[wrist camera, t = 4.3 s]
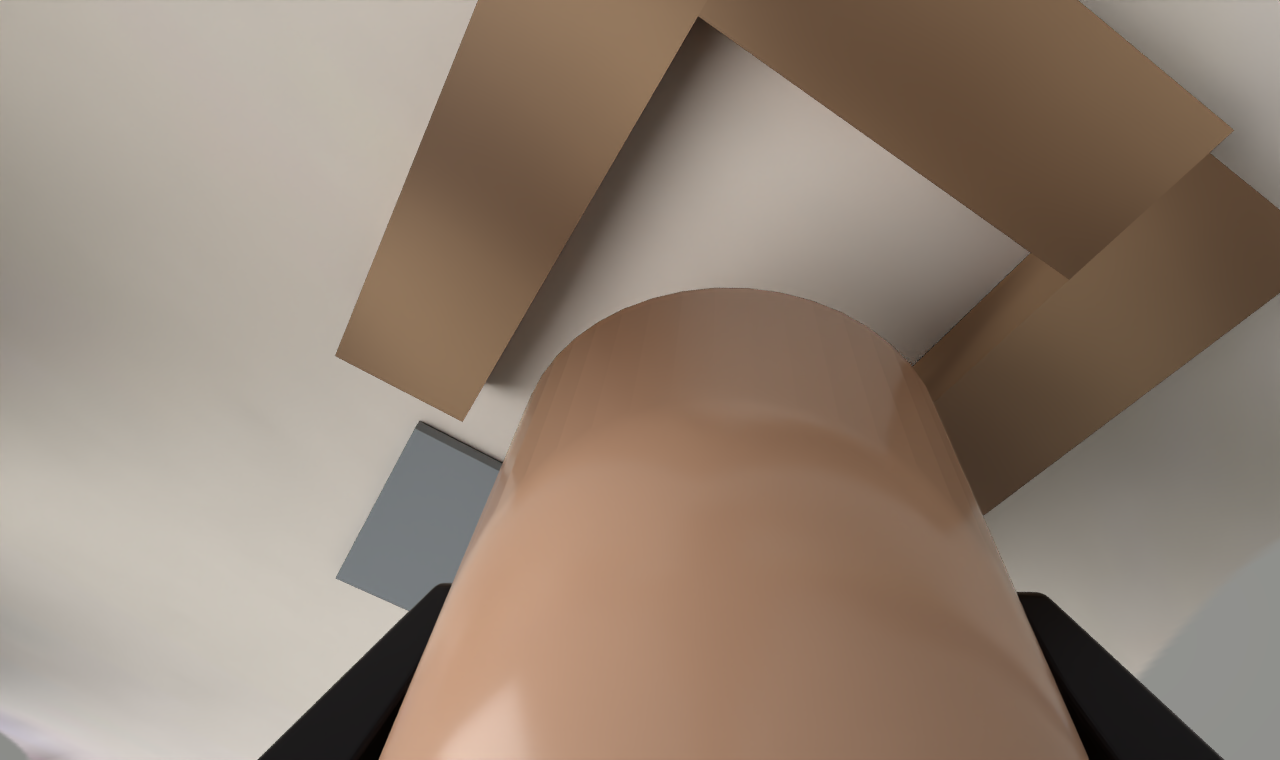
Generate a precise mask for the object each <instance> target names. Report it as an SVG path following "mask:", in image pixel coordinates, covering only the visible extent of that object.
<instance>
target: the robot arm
mask: <svg viewBox="0 0 1280 760" xmlns="http://www.w3.org/2000/svg"><path fill="white" fill-rule="evenodd" d="M451 585H452V583H440V584H438V585H436V586H435V587H433V588H432V589H431V590H430V591H429V592H428V593H427V594H426V595H425V596H424V597H423V598H422V599H421V600H420V601H419V602H418V603H417V604H416V605H415V606H414V607H413V608H412V609H411V610H410V611H409V612H408V613H407V614H406V615H405V616H404V617H403V618H402V619H401V620H400V621H399V622H398V623H396V624H395V625H394V626H393V627H392V628H391V629H390V630H389V631H388V632H387V633H386V634H385V635H384V636H383V637H382V638H381V639H380V640H379V641H378V642H377V643H376V644H375V645H374V646H373V647H372V648H371V649H370V650H369V651H368V652H367V653H366V654H365V655H364V656H363V657H362V658H361V659H360V660H359V661H358V662H357V663H356V664H355V665H354V666H353V667H352V668H351V669H350V670H349V671H348V672H347V673H345V674H344V675H343V676H342V677H341V678H340V679H339V680H338V681H337V682H336V683H335V684H334V685H333V686H332V687H331V688H330V689H329V690H328V691H327V692H326V693H325V694H324V695H323V696H322V697H321V698H320V699H319V700H318V701H317V702H316V703H315V704H314V705H313V706H312V707H311V708H310V709H309V710H308V711H307V712H306V713H305V714H304V715H303V716H302V717H301V718H300V719H299V720H298V721H297V722H295V723H294V724H293V725H292V726H291V727H290V728H289V729H288V730H287V731H286V732H285V733H284V734H283V735H282V736H281V737H280V738H279V739H278V740H277V741H276V742H275V743H274V744H273V745H272V746H271V747H270V748H269V749H268V750H267V751H266V752H265V753H264V754H263V755H262V756H261V757H260V758H259V759H258V760H379V758H380V755H381V753H382V750H383V748H384V746H385V743H386V741H387V738H388V736H389V734H390V731H391V729H392V726H393V724H394V722H395V719H396V717H397V714H398V712H399V710H400V707H401V705H402V703H403V700H404V698H405V695H406V693H407V691H408V688H409V686H410V683H411V681H412V679H413V676H414V674H415V671H416V669H417V667H418V664H419V662H420V660H421V657H422V655H423V652H424V650H425V648H426V645H427V643H428V640H429V638H430V636H431V633H432V631H433V628H434V626H435V624H436V621H437V619H438V616H439V614H440V612H441V609H442V607H443V605H444V602H445V600H446V597H447V595H448V593H449V590H450V588H451ZM1017 595H1018V597H1019V599H1020V602H1021V604H1022V606H1023V608H1024V611H1025V613H1026V615H1027V618H1028V620H1029V622H1030V624H1031V627H1032V629H1033V631H1034V634H1035V636H1036V638H1037V641H1038V643H1039V645H1040V647H1041V650H1042V652H1043V654H1044V657H1045V659H1046V661H1047V663H1048V666H1049V668H1050V670H1051V673H1052V675H1053V677H1054V680H1055V682H1056V684H1057V686H1058V689H1059V691H1060V693H1061V696H1062V698H1063V700H1064V703H1065V705H1066V707H1067V709H1068V712H1069V714H1070V716H1071V719H1072V721H1073V723H1074V725H1075V728H1076V730H1077V732H1078V735H1079V737H1080V739H1081V742H1082V744H1083V746H1084V748H1085V751H1086V753H1087V755H1088V758H1089V760H1224V759H1223V758H1222V757H1221V756H1219V755H1218V754H1217V753H1216V752H1215V751H1214V750H1213V749H1212V748H1211V747H1210V746H1209V745H1208V744H1206V743H1205V742H1204V741H1203V740H1202V739H1201V738H1200V737H1199V736H1198V735H1197V734H1196V733H1195V732H1193V730H1191V729H1190V728H1189V727H1188V726H1187V725H1186V724H1185V723H1184V722H1183V721H1182V720H1181V719H1180V718H1178V717H1177V716H1176V715H1175V714H1174V713H1173V712H1172V711H1171V710H1170V709H1169V708H1168V707H1167V706H1166V705H1164V704H1163V703H1162V702H1161V701H1160V700H1159V699H1158V698H1157V697H1156V696H1155V695H1154V694H1152V693H1151V692H1150V691H1149V690H1148V689H1147V688H1146V687H1145V686H1144V685H1143V684H1142V683H1141V682H1140V681H1139V680H1138V679H1136V678H1135V677H1134V676H1133V675H1132V674H1131V673H1130V672H1129V671H1128V670H1127V669H1126V668H1125V667H1123V666H1122V665H1121V664H1120V663H1119V662H1118V661H1117V660H1116V659H1115V658H1114V657H1113V656H1112V655H1111V654H1109V653H1108V652H1107V651H1106V650H1105V649H1104V648H1103V647H1102V646H1101V645H1100V644H1099V643H1098V642H1097V641H1095V640H1094V639H1093V638H1092V637H1091V636H1090V635H1089V634H1088V633H1087V632H1086V631H1085V630H1084V629H1083V628H1081V627H1080V626H1079V625H1078V624H1077V623H1076V622H1075V621H1074V620H1073V619H1072V618H1071V617H1070V616H1068V615H1067V614H1066V613H1065V612H1064V611H1063V610H1062V609H1061V608H1060V607H1059V606H1058V605H1057V604H1056V603H1054V602H1053V601H1052V600H1051V599H1050V598H1049V597H1047V596H1046V595H1044V594H1042V593H1037V592H1017Z"/></svg>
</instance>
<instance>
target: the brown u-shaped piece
mask: <svg viewBox="0 0 1280 760" xmlns="http://www.w3.org/2000/svg"><path fill="white" fill-rule="evenodd" d="M697 17H700V18H701V19H703V20H704V21H706V22H707V23H708V24H710V25H711V26H713V27H714V28H715V29H717V30H718V31H720V32H721V33H722V34H724V35H725V36H727V37H728V38H729V39H731V40H732V41H734V42H735V43H736V44H738V45H739V46H741V47H742V48H744V49H745V50H746V51H748V52H749V53H751V54H752V55H753V56H755V57H756V58H758V59H759V60H760V61H762V62H763V63H765V64H766V65H767V66H769V67H770V68H772V69H773V70H774V71H776V72H777V73H779V74H780V75H782V76H783V77H784V78H786V79H787V80H789V81H790V82H791V83H793V84H794V85H796V86H797V87H798V88H800V89H801V90H803V91H804V92H805V93H807V94H808V95H810V96H811V97H812V98H814V99H815V100H817V101H818V102H820V103H821V104H822V105H824V106H825V107H827V108H828V109H829V110H831V111H832V112H834V113H835V114H836V115H838V116H839V117H841V118H842V119H843V120H845V121H846V122H848V123H849V124H850V125H852V126H853V127H855V128H856V129H858V130H859V131H860V132H862V133H863V134H865V135H866V136H867V137H869V138H870V139H872V140H873V141H874V142H876V143H877V144H879V145H880V146H881V147H883V148H884V149H886V150H887V151H888V152H890V153H891V154H893V155H894V156H896V157H897V158H898V159H900V160H901V161H903V162H904V163H905V164H907V165H908V166H910V167H911V168H912V169H914V170H915V171H917V172H918V173H919V174H921V175H922V176H924V177H925V178H926V179H928V180H929V181H931V182H932V183H934V184H935V185H936V186H938V187H939V188H941V189H942V190H943V191H945V192H946V193H948V194H949V195H950V196H952V197H953V198H955V199H956V200H957V201H959V202H960V203H962V204H963V205H964V206H966V207H967V208H969V209H970V210H972V211H973V212H974V213H976V214H977V215H979V216H980V217H981V218H983V219H984V220H986V221H987V222H988V223H990V224H991V225H993V226H994V227H995V228H997V229H998V230H1000V231H1001V232H1002V233H1004V234H1005V235H1007V236H1008V237H1010V238H1011V239H1012V240H1014V241H1015V242H1017V243H1018V244H1019V245H1021V246H1022V247H1024V248H1025V249H1026V250H1028V251H1029V252H1031V253H1030V254H1029V255H1028V256H1027V257H1026V258H1025V259H1024V260H1023V261H1022V262H1021V263H1020V264H1019V265H1018V266H1017V267H1016V268H1014V269H1013V270H1012V271H1011V272H1010V273H1009V274H1008V275H1007V276H1006V277H1005V278H1004V279H1003V280H1002V281H1001V282H1000V283H999V284H998V285H997V286H996V287H995V288H994V289H993V290H992V291H991V292H990V293H989V294H988V295H986V296H985V297H984V298H983V299H982V300H981V301H980V302H979V303H978V304H977V305H976V306H975V307H974V308H973V309H972V310H971V311H970V312H969V313H968V314H967V315H966V316H965V317H964V318H963V319H962V320H961V321H960V322H958V323H957V324H956V325H955V326H954V327H953V328H952V329H951V330H950V331H949V332H948V333H947V334H946V335H945V336H944V337H943V338H942V339H941V340H940V341H939V342H938V343H937V344H936V345H935V346H934V347H933V348H932V349H930V350H929V351H928V352H927V353H926V354H925V355H924V356H923V357H922V358H921V359H920V360H919V361H918V362H917V363H916V364H915V365H914V366H913V369H914V370H915V371H916V373H917V374H918V376H919V377H920V379H921V380H922V381H923V383H924V384H925V386H926V388H927V390H928V392H929V394H930V396H931V398H932V400H933V402H934V404H935V406H936V409H937V411H938V413H939V416H940V418H941V420H942V422H943V425H944V427H945V429H946V432H947V434H948V436H949V439H950V441H951V443H952V445H953V448H954V450H955V452H956V455H957V457H958V459H959V461H960V464H961V466H962V468H963V471H964V473H965V475H966V478H967V480H968V482H969V484H970V487H971V489H972V491H973V494H974V496H975V498H976V501H977V503H978V505H979V507H980V510H981V512H982V514H983V516H984V515H985V514H986V513H988V512H989V511H990V510H992V509H993V508H994V507H996V506H997V505H998V504H1000V503H1001V502H1002V501H1004V500H1005V499H1006V498H1008V497H1009V496H1010V495H1012V494H1013V493H1014V492H1016V491H1017V490H1018V489H1020V488H1021V487H1022V486H1024V485H1025V484H1026V483H1028V482H1029V481H1030V480H1032V479H1033V478H1034V477H1035V476H1037V475H1038V474H1039V473H1041V472H1042V471H1043V470H1045V469H1046V468H1047V467H1049V466H1050V465H1051V464H1053V463H1054V462H1055V461H1057V460H1058V459H1059V458H1061V457H1062V456H1063V455H1065V454H1066V453H1067V452H1069V451H1070V450H1071V449H1073V448H1074V447H1075V446H1077V445H1078V444H1079V443H1081V442H1082V441H1083V440H1085V439H1086V438H1087V437H1089V436H1090V435H1091V434H1093V433H1094V432H1095V431H1097V430H1098V429H1099V428H1101V427H1102V426H1103V425H1105V424H1106V423H1107V422H1109V421H1110V420H1111V419H1113V418H1114V417H1115V416H1117V415H1118V414H1119V413H1121V412H1122V411H1123V410H1125V409H1126V408H1127V407H1129V406H1130V405H1131V404H1133V403H1134V402H1135V401H1137V400H1138V399H1139V398H1141V397H1142V396H1143V395H1145V394H1146V393H1147V392H1149V391H1150V390H1151V389H1153V388H1154V387H1155V386H1157V385H1158V384H1159V383H1161V382H1162V381H1163V380H1165V379H1166V378H1167V377H1169V376H1170V375H1171V374H1173V373H1174V372H1175V371H1177V370H1178V369H1179V368H1181V367H1182V366H1183V365H1185V364H1186V363H1187V362H1188V361H1190V360H1191V359H1192V358H1194V357H1195V356H1196V355H1198V354H1199V353H1200V352H1202V351H1203V350H1204V349H1206V348H1207V347H1208V346H1210V345H1211V344H1212V343H1214V342H1215V341H1216V340H1218V339H1219V338H1220V337H1222V336H1223V335H1224V334H1226V333H1227V332H1228V331H1230V330H1231V329H1232V328H1234V327H1235V326H1236V325H1238V324H1239V323H1240V322H1242V321H1243V320H1244V319H1246V318H1247V317H1248V316H1250V315H1251V314H1252V313H1254V312H1255V311H1256V310H1258V309H1259V308H1260V307H1262V306H1263V305H1264V304H1266V303H1267V302H1268V301H1270V300H1271V299H1272V298H1274V297H1275V296H1276V295H1278V294H1279V293H1280V210H1279V209H1278V208H1277V207H1276V206H1274V205H1273V204H1272V203H1271V202H1269V201H1268V200H1267V199H1266V198H1264V197H1263V196H1262V195H1261V194H1260V193H1258V192H1257V191H1256V190H1255V189H1253V188H1252V187H1251V186H1250V185H1248V184H1247V183H1246V182H1245V181H1244V180H1242V179H1241V178H1240V177H1239V176H1237V175H1236V174H1235V173H1234V172H1232V171H1231V170H1230V169H1229V168H1228V167H1226V166H1225V165H1224V164H1223V163H1221V162H1220V161H1219V160H1218V159H1217V158H1215V157H1214V156H1213V155H1212V154H1210V152H1211V151H1212V150H1213V149H1214V148H1215V147H1216V146H1217V145H1219V144H1220V143H1221V142H1222V141H1223V140H1224V139H1225V138H1226V137H1227V136H1229V135H1230V134H1231V133H1232V132H1233V131H1234V130H1233V129H1232V128H1231V127H1230V126H1229V125H1227V124H1226V123H1225V122H1224V121H1223V120H1221V119H1220V118H1219V117H1218V116H1216V115H1215V114H1214V113H1213V112H1212V111H1210V110H1209V109H1208V108H1207V107H1206V106H1204V105H1203V104H1202V103H1201V102H1200V101H1198V100H1197V99H1196V98H1195V97H1194V96H1192V95H1191V94H1190V93H1189V92H1188V91H1186V90H1185V89H1184V88H1183V87H1182V86H1180V85H1179V84H1178V83H1177V82H1176V81H1174V80H1173V79H1172V78H1171V77H1170V76H1168V75H1167V74H1166V73H1165V72H1164V71H1162V70H1161V69H1160V68H1159V67H1158V66H1156V65H1155V64H1154V63H1153V62H1152V61H1150V60H1149V59H1148V58H1147V57H1146V56H1144V55H1143V54H1142V53H1141V52H1140V51H1138V50H1137V49H1136V48H1135V47H1134V46H1132V45H1131V44H1130V43H1129V42H1128V41H1126V40H1125V39H1124V38H1123V37H1122V36H1120V35H1119V34H1118V33H1117V32H1116V31H1114V30H1113V29H1112V28H1111V27H1110V26H1108V25H1107V24H1106V23H1105V22H1104V21H1102V20H1101V19H1100V18H1099V17H1098V16H1096V15H1095V14H1094V13H1093V12H1092V11H1090V10H1089V9H1088V8H1087V7H1086V6H1084V5H1083V4H1082V3H1081V2H1080V1H1078V0H478V2H477V4H476V7H475V9H474V12H473V14H472V17H471V19H470V22H469V24H468V27H467V29H466V32H465V34H464V37H463V39H462V42H461V44H460V47H459V49H458V52H457V54H456V57H455V59H454V61H453V64H452V66H451V69H450V71H449V74H448V76H447V79H446V81H445V84H444V86H443V89H442V91H441V94H440V96H439V99H438V101H437V104H436V106H435V109H434V111H433V114H432V116H431V119H430V121H429V124H428V126H427V129H426V131H425V134H424V136H423V139H422V141H421V144H420V146H419V149H418V151H417V154H416V156H415V158H414V161H413V163H412V166H411V168H410V171H409V173H408V176H407V178H406V181H405V183H404V186H403V188H402V191H401V193H400V196H399V198H398V201H397V203H396V206H395V208H394V211H393V213H392V216H391V218H390V221H389V223H388V226H387V228H386V231H385V233H384V236H383V238H382V241H381V243H380V246H379V248H378V250H377V253H376V255H375V258H374V260H373V263H372V265H371V268H370V270H369V273H368V275H367V278H366V280H365V283H364V285H363V288H362V290H361V293H360V295H359V298H358V300H357V303H356V305H355V308H354V310H353V313H352V315H351V318H350V320H349V323H348V325H347V328H346V330H345V333H344V335H343V338H342V340H341V342H340V345H339V347H338V350H337V352H336V355H335V356H336V357H338V358H340V359H342V360H344V361H346V362H348V363H350V364H352V365H354V366H355V367H357V368H359V369H361V370H363V371H365V372H367V373H369V374H371V375H373V376H375V377H377V378H379V379H381V380H383V381H384V382H386V383H388V384H390V385H392V386H394V387H396V388H398V389H400V390H402V391H404V392H406V393H408V394H410V395H412V396H414V397H415V398H417V399H419V400H421V401H423V402H425V403H427V404H429V405H431V406H433V407H435V408H437V409H439V410H441V411H443V412H444V413H446V414H448V415H450V416H452V417H454V418H456V419H458V420H460V421H462V422H463V420H464V418H465V417H466V415H467V413H468V411H469V410H470V408H471V406H472V405H473V403H474V401H475V399H476V398H477V396H478V394H479V392H480V391H481V389H482V387H483V386H484V384H485V382H486V380H487V379H488V377H489V375H490V374H491V372H492V370H493V368H494V367H495V365H496V363H497V361H498V360H499V358H500V356H501V355H502V353H503V351H504V349H505V348H506V346H507V344H508V343H509V341H510V339H511V337H512V336H513V334H514V332H515V330H516V329H517V327H518V325H519V324H520V322H521V320H522V318H523V317H524V315H525V313H526V312H527V310H528V308H529V306H530V305H531V303H532V301H533V299H534V298H535V296H536V294H537V293H538V291H539V289H540V287H541V286H542V284H543V282H544V281H545V279H546V277H547V275H548V274H549V272H550V270H551V268H552V267H553V265H554V263H555V262H556V260H557V258H558V256H559V255H560V253H561V251H562V250H563V248H564V246H565V244H566V243H567V241H568V239H569V237H570V236H571V234H572V232H573V231H574V229H575V227H576V225H577V224H578V222H579V220H580V219H581V217H582V215H583V213H584V212H585V210H586V208H587V206H588V205H589V203H590V201H591V200H592V198H593V196H594V194H595V193H596V191H597V189H598V188H599V186H600V184H601V182H602V181H603V179H604V177H605V175H606V174H607V172H608V170H609V169H610V167H611V165H612V163H613V162H614V160H615V158H616V157H617V155H618V153H619V151H620V150H621V148H622V146H623V145H624V143H625V141H626V139H627V138H628V136H629V134H630V132H631V131H632V129H633V127H634V126H635V124H636V122H637V120H638V119H639V117H640V115H641V114H642V112H643V110H644V108H645V107H646V105H647V103H648V101H649V100H650V98H651V96H652V95H653V93H654V91H655V89H656V88H657V86H658V84H659V83H660V81H661V79H662V77H663V76H664V74H665V72H666V70H667V69H668V67H669V65H670V64H671V62H672V60H673V58H674V57H675V55H676V53H677V52H678V50H679V48H680V46H681V45H682V43H683V41H684V39H685V38H686V36H687V34H688V33H689V31H690V29H691V27H692V26H693V24H694V22H695V21H696V19H697Z"/></svg>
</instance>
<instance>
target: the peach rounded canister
mask: <svg viewBox="0 0 1280 760" xmlns="http://www.w3.org/2000/svg"><path fill="white" fill-rule="evenodd" d="M379 760H1089V758H1088V755H1087V753H1086V751H1085V748H1084V746H1083V744H1082V742H1081V739H1080V737H1079V735H1078V732H1077V730H1076V728H1075V725H1074V723H1073V721H1072V719H1071V716H1070V714H1069V712H1068V709H1067V707H1066V705H1065V703H1064V700H1063V698H1062V696H1061V693H1060V691H1059V689H1058V686H1057V684H1056V682H1055V680H1054V677H1053V675H1052V673H1051V670H1050V668H1049V666H1048V663H1047V661H1046V659H1045V657H1044V654H1043V652H1042V650H1041V647H1040V645H1039V643H1038V641H1037V638H1036V636H1035V634H1034V631H1033V629H1032V627H1031V624H1030V622H1029V620H1028V618H1027V615H1026V613H1025V611H1024V608H1023V606H1022V604H1021V602H1020V599H1019V597H1018V595H1017V592H1016V590H1015V588H1014V585H1013V583H1012V581H1011V579H1010V576H1009V574H1008V572H1007V569H1006V567H1005V565H1004V562H1003V560H1002V558H1001V556H1000V553H999V551H998V549H997V546H996V544H995V542H994V540H993V537H992V535H991V533H990V530H989V528H988V526H987V523H986V521H985V519H984V517H983V514H982V512H981V510H980V507H979V505H978V503H977V501H976V498H975V496H974V494H973V491H972V489H971V487H970V484H969V482H968V480H967V478H966V475H965V473H964V471H963V468H962V466H961V464H960V461H959V459H958V457H957V455H956V452H955V450H954V448H953V445H952V443H951V441H950V439H949V436H948V434H947V432H946V429H945V427H944V425H943V422H942V420H941V418H940V416H939V413H938V411H937V409H936V406H935V404H934V402H933V400H932V398H931V396H930V394H929V392H928V390H927V388H926V386H925V384H924V383H923V381H922V380H921V379H920V377H919V376H918V374H917V373H916V371H915V370H914V369H913V367H912V366H911V364H910V363H909V362H908V361H907V360H906V359H905V358H904V357H903V356H902V355H901V354H900V353H899V352H898V351H897V350H896V349H895V348H894V347H893V346H892V345H891V344H890V343H888V342H887V341H886V340H884V339H883V338H882V337H880V336H879V335H878V334H876V333H875V332H874V331H873V330H871V329H870V328H869V327H867V326H865V325H863V324H862V323H860V322H858V321H856V320H854V319H853V318H851V317H849V316H847V315H845V314H844V313H842V312H839V311H837V310H834V309H832V308H829V307H827V306H824V305H822V304H819V303H817V302H814V301H811V300H808V299H804V298H800V297H796V296H792V295H788V294H784V293H780V292H772V291H765V290H757V289H750V288H709V289H700V290H691V291H682V292H678V293H674V294H669V295H665V296H660V297H656V298H652V299H649V300H647V301H644V302H641V303H638V304H636V305H633V306H630V307H627V308H625V309H622V310H620V311H619V312H617V313H615V314H613V315H611V316H609V317H607V318H605V319H603V320H601V321H599V322H598V323H596V324H595V325H593V326H592V327H590V328H589V329H588V330H586V331H585V332H583V333H582V334H581V335H579V336H578V337H576V338H575V339H574V340H573V341H572V342H571V343H570V344H569V345H568V346H567V347H566V348H565V349H564V350H562V351H561V352H560V353H559V354H558V355H557V356H556V358H555V359H554V360H553V362H552V363H551V364H550V365H549V367H548V368H547V369H546V371H545V372H544V373H543V374H542V376H541V378H540V380H539V382H538V383H537V385H536V387H535V389H534V391H533V393H532V394H531V397H530V399H529V401H528V404H527V406H526V408H525V411H524V413H523V416H522V418H521V420H520V423H519V425H518V428H517V430H516V432H515V435H514V437H513V440H512V442H511V444H510V447H509V449H508V452H507V454H506V456H505V459H504V461H503V463H502V466H501V468H500V471H499V473H498V475H497V478H496V480H495V483H494V485H493V487H492V490H491V492H490V495H489V497H488V499H487V502H486V504H485V507H484V509H483V511H482V514H481V516H480V518H479V521H478V523H477V526H476V528H475V530H474V533H473V535H472V538H471V540H470V542H469V545H468V547H467V550H466V552H465V554H464V557H463V559H462V561H461V564H460V566H459V569H458V571H457V573H456V576H455V578H454V581H453V583H452V585H451V588H450V590H449V593H448V595H447V597H446V600H445V602H444V605H443V607H442V609H441V612H440V614H439V616H438V619H437V621H436V624H435V626H434V628H433V631H432V633H431V636H430V638H429V640H428V643H427V645H426V648H425V650H424V652H423V655H422V657H421V660H420V662H419V664H418V667H417V669H416V671H415V674H414V676H413V679H412V681H411V683H410V686H409V688H408V691H407V693H406V695H405V698H404V700H403V703H402V705H401V707H400V710H399V712H398V714H397V717H396V719H395V722H394V724H393V726H392V729H391V731H390V734H389V736H388V738H387V741H386V743H385V746H384V748H383V750H382V753H381V755H380V758H379Z"/></svg>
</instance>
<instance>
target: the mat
mask: <svg viewBox="0 0 1280 760" xmlns="http://www.w3.org/2000/svg"><path fill="white" fill-rule="evenodd" d="M501 466H502V463H500V462H498V461H496V460H494V459H492V458H490V457H489V456H487V455H485V454H483V453H481V452H479V451H477V450H475V449H473V448H471V447H469V446H467V445H465V444H463V443H461V442H459V441H457V440H455V439H453V438H451V437H449V436H447V435H445V434H443V433H441V432H439V431H437V430H436V429H434V428H432V427H430V426H428V425H426V424H424V423H422V422H420V421H419V423H418V424H417V426H416V427H415V429H414V431H413V433H412V435H411V437H410V439H409V440H408V442H407V444H406V446H405V448H404V450H403V452H402V454H401V456H400V457H399V459H398V461H397V463H396V465H395V467H394V469H393V471H392V473H391V474H390V476H389V478H388V480H387V482H386V484H385V486H384V488H383V490H382V491H381V493H380V495H379V497H378V499H377V501H376V503H375V505H374V507H373V508H372V510H371V512H370V514H369V516H368V518H367V520H366V522H365V524H364V525H363V527H362V529H361V531H360V533H359V535H358V537H357V539H356V541H355V542H354V544H353V546H352V548H351V550H350V552H349V554H348V556H347V558H346V559H345V561H344V563H343V565H342V567H341V569H340V571H339V573H338V575H337V576H336V579H338V580H340V581H343V582H345V583H347V584H349V585H352V586H354V587H356V588H358V589H361V590H363V591H365V592H367V593H370V594H372V595H374V596H376V597H379V598H381V599H383V600H385V601H388V602H390V603H392V604H394V605H397V606H399V607H401V608H403V609H406V610H408V611H410V610H411V609H412V608H413V607H414V606H415V605H416V604H417V603H418V602H419V601H420V600H421V599H422V598H423V597H424V596H425V595H426V594H427V593H428V592H429V591H430V590H431V589H432V588H433V587H435V586H436V585H438V584H440V583H453V581H454V578H455V576H456V573H457V571H458V569H459V566H460V564H461V561H462V559H463V557H464V554H465V552H466V550H467V547H468V545H469V542H470V540H471V538H472V535H473V533H474V530H475V528H476V526H477V523H478V521H479V518H480V516H481V514H482V511H483V509H484V507H485V504H486V502H487V499H488V497H489V495H490V492H491V490H492V487H493V485H494V483H495V480H496V478H497V475H498V473H499V471H500V468H501Z"/></svg>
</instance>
